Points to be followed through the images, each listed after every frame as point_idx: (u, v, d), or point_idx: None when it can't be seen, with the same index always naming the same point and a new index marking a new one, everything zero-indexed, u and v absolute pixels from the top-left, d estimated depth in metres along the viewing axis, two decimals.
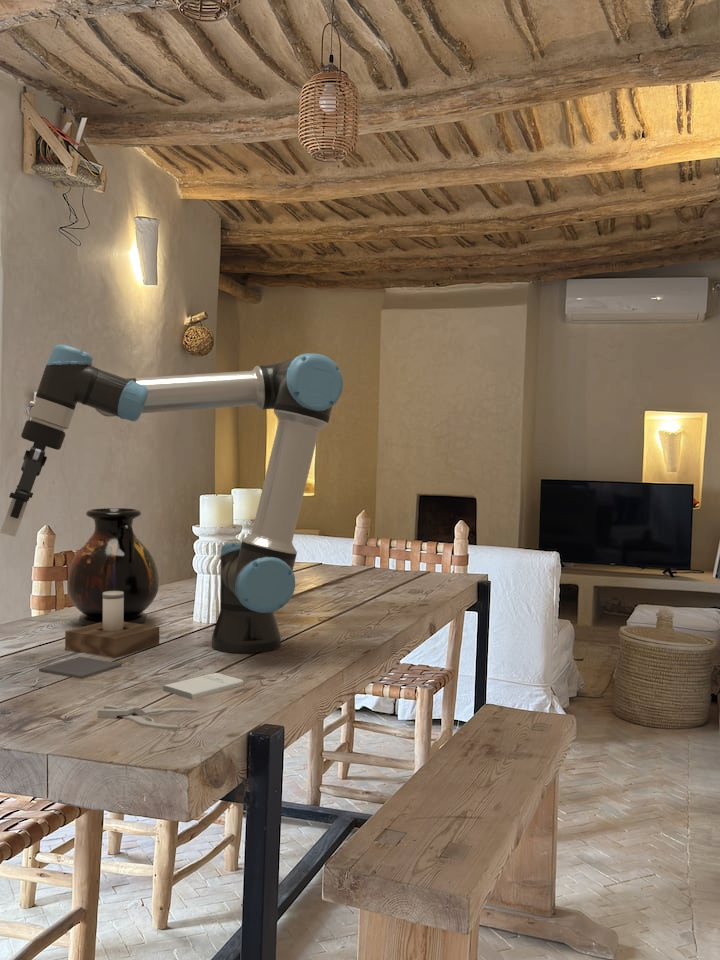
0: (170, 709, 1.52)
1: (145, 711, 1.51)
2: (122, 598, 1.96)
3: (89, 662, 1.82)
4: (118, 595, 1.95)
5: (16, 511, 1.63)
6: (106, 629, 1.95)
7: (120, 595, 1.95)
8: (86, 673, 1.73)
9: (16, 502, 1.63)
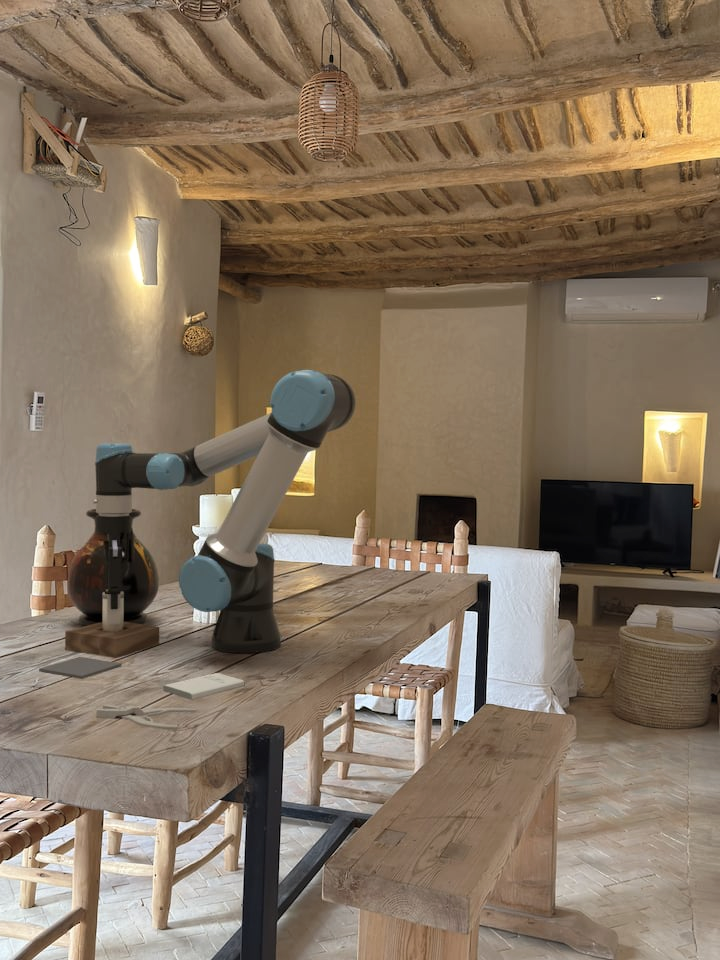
0: (169, 709, 1.52)
1: (144, 711, 1.51)
2: (122, 598, 1.96)
3: (89, 662, 1.82)
4: None
5: (114, 603, 1.93)
6: (106, 629, 1.95)
7: None
8: (86, 673, 1.73)
9: (112, 596, 1.93)
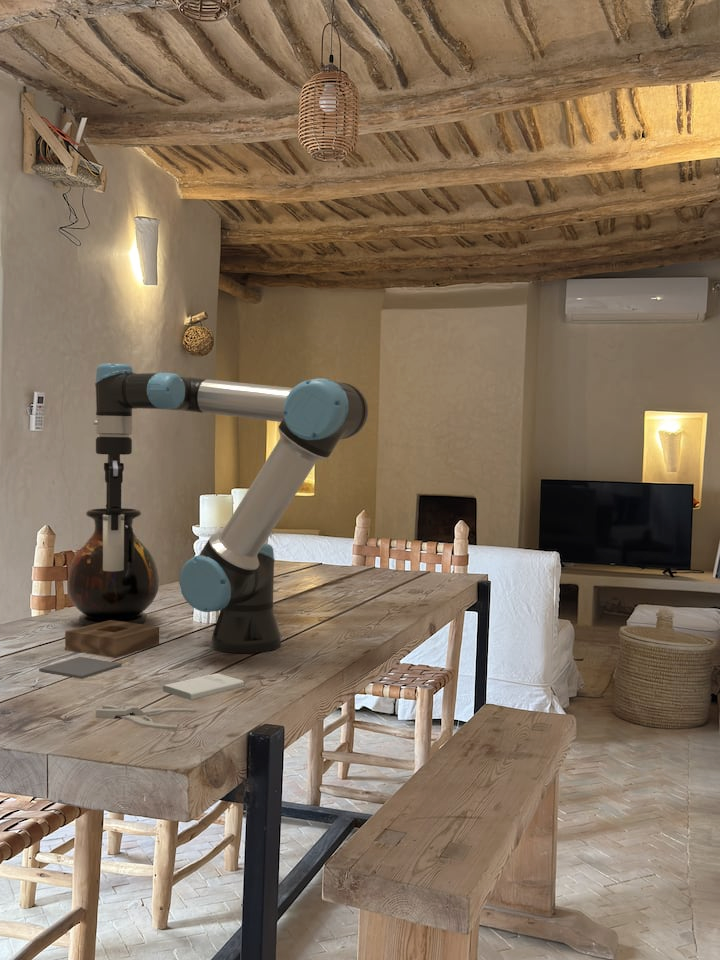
0: (168, 709, 1.52)
1: (144, 711, 1.51)
2: (122, 520, 1.95)
3: (89, 662, 1.82)
4: None
5: (115, 524, 1.92)
6: (106, 551, 1.94)
7: None
8: (86, 673, 1.73)
9: (112, 517, 1.92)
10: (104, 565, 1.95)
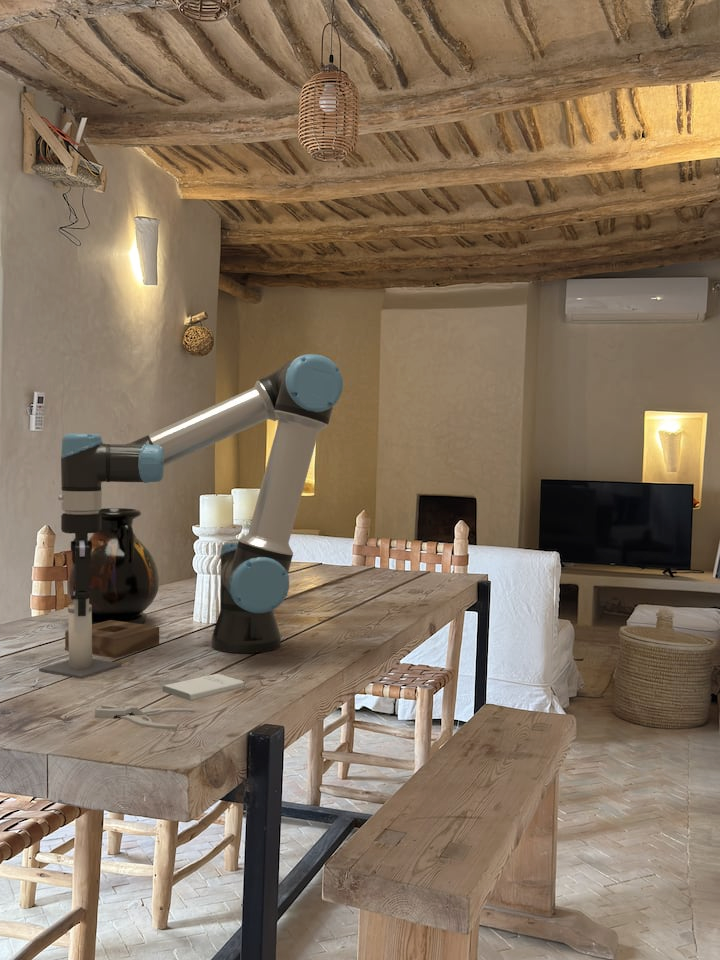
0: (167, 709, 1.52)
1: (143, 710, 1.51)
2: (90, 612, 1.78)
3: None
4: None
5: (82, 610, 1.73)
6: (72, 646, 1.77)
7: None
8: (86, 673, 1.73)
9: (79, 602, 1.73)
10: (70, 662, 1.77)
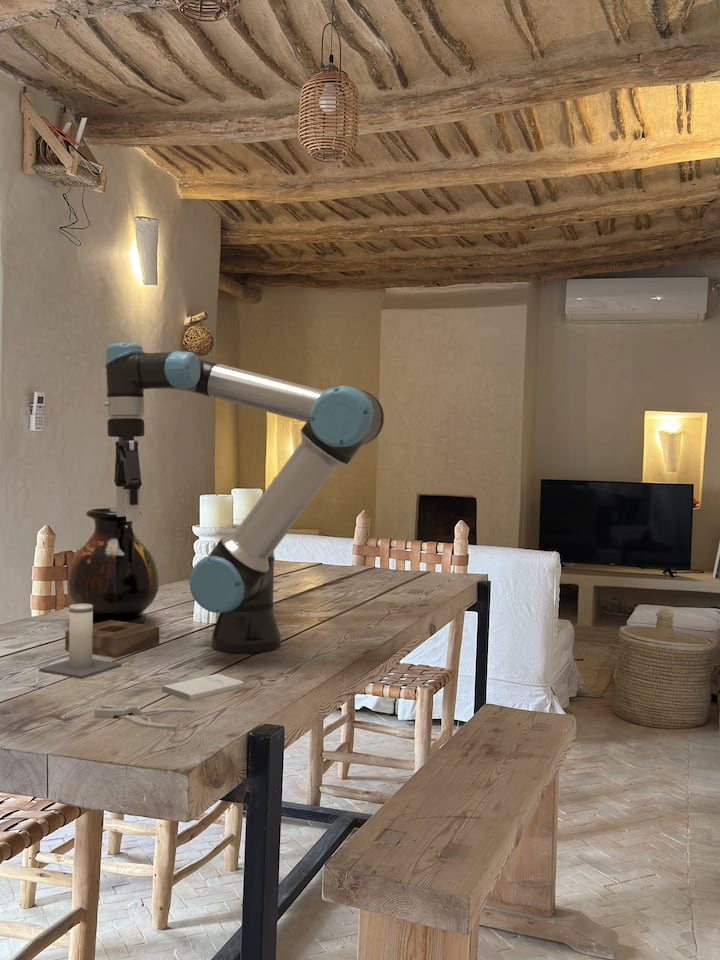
0: (167, 709, 1.52)
1: (142, 710, 1.51)
2: (91, 612, 1.78)
3: None
4: (86, 609, 1.77)
5: (134, 499, 1.83)
6: (73, 646, 1.77)
7: (88, 609, 1.77)
8: (86, 673, 1.73)
9: (131, 491, 1.83)
10: (70, 661, 1.77)
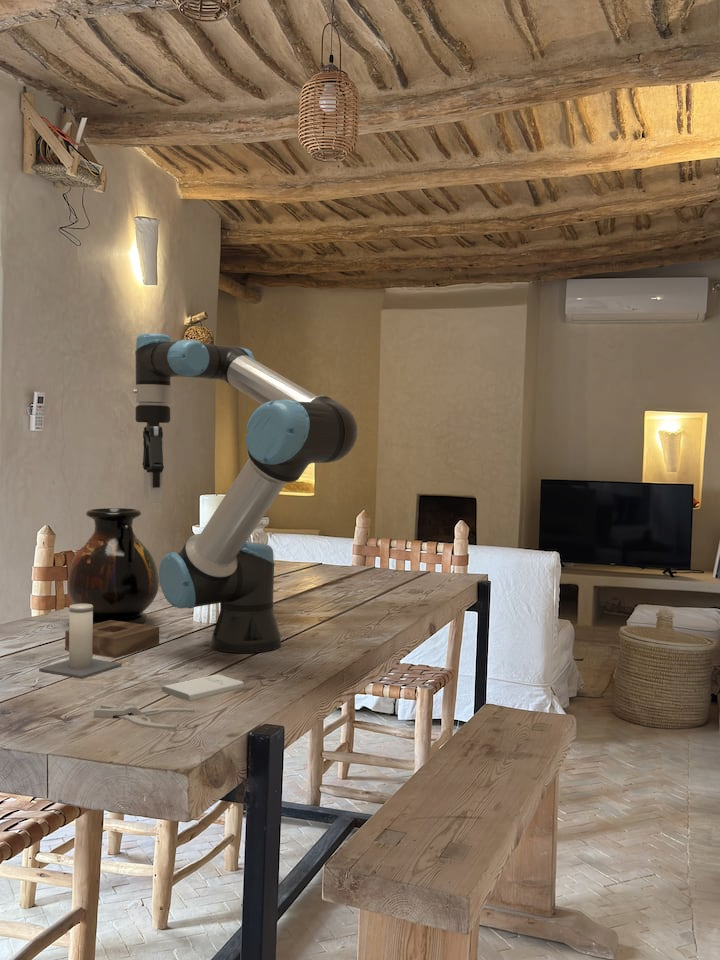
0: (166, 709, 1.52)
1: (142, 710, 1.51)
2: (91, 612, 1.78)
3: None
4: (86, 609, 1.77)
5: (156, 482, 1.93)
6: (73, 646, 1.77)
7: (88, 608, 1.77)
8: (86, 673, 1.73)
9: (154, 474, 1.93)
10: (70, 661, 1.77)
